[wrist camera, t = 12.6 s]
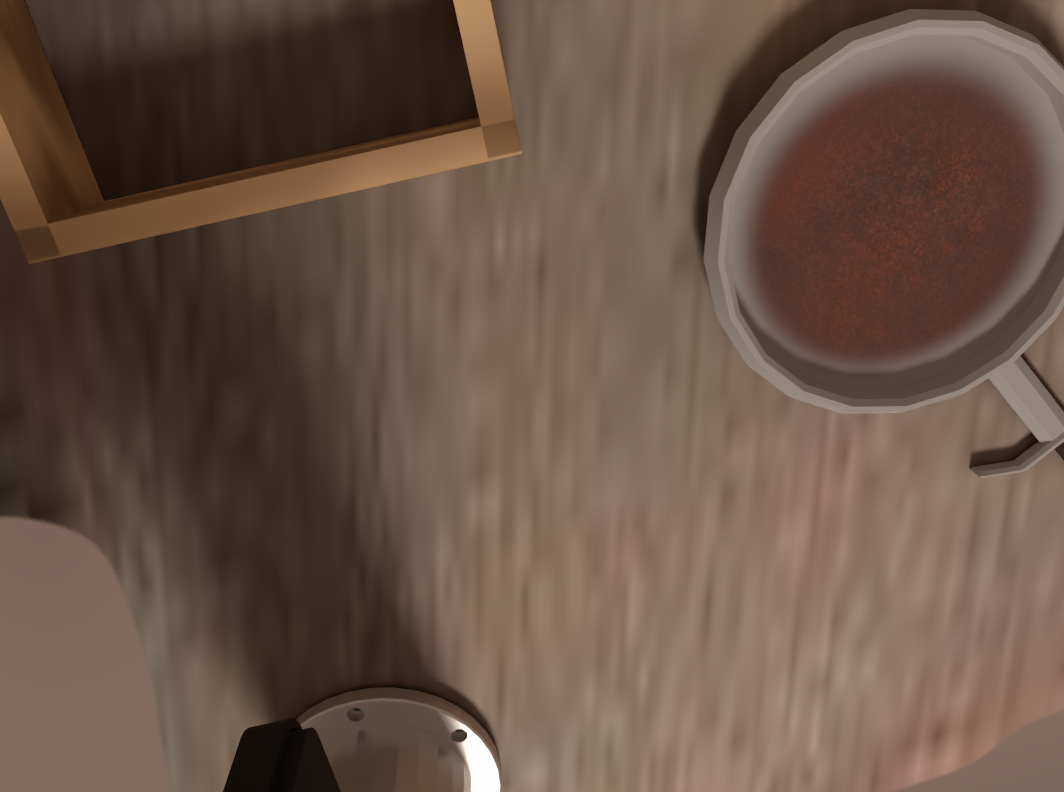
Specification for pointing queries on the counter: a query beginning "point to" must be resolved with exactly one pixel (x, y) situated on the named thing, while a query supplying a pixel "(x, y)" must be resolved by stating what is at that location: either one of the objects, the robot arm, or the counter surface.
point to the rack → (91, 223)
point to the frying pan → (899, 221)
